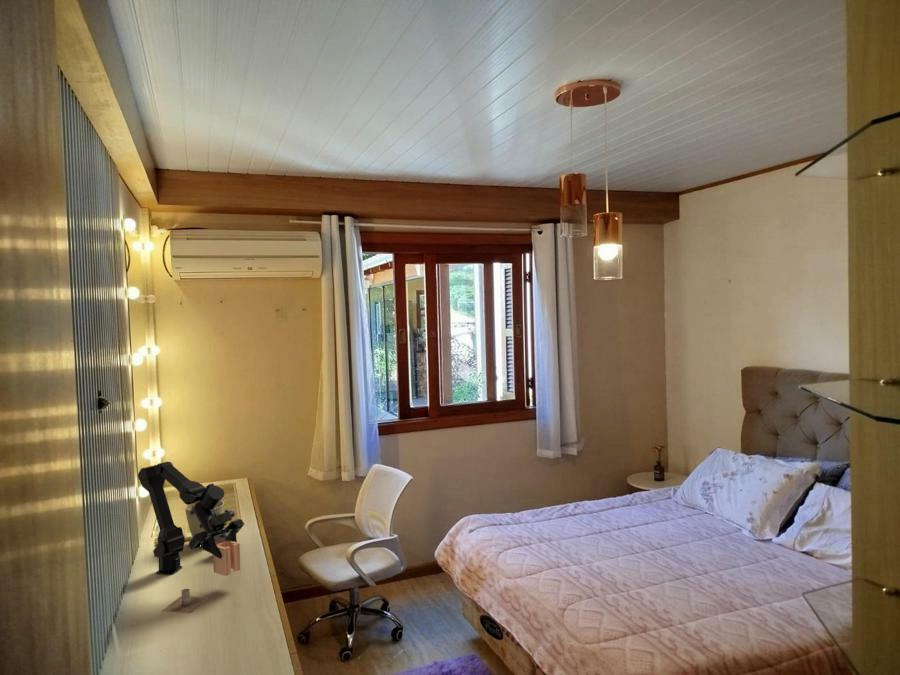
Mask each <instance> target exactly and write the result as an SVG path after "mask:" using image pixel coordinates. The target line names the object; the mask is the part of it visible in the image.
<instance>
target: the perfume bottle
mask: <svg viewBox="0 0 900 675" xmlns="http://www.w3.org/2000/svg"><path fill="white" fill-rule="evenodd" d="M226 537H227V536H226V535H225V534H222V535H220V536H217V537H214V540H215V544H219V543H222V542H224V541H226V540H225V538H226Z"/></svg>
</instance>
